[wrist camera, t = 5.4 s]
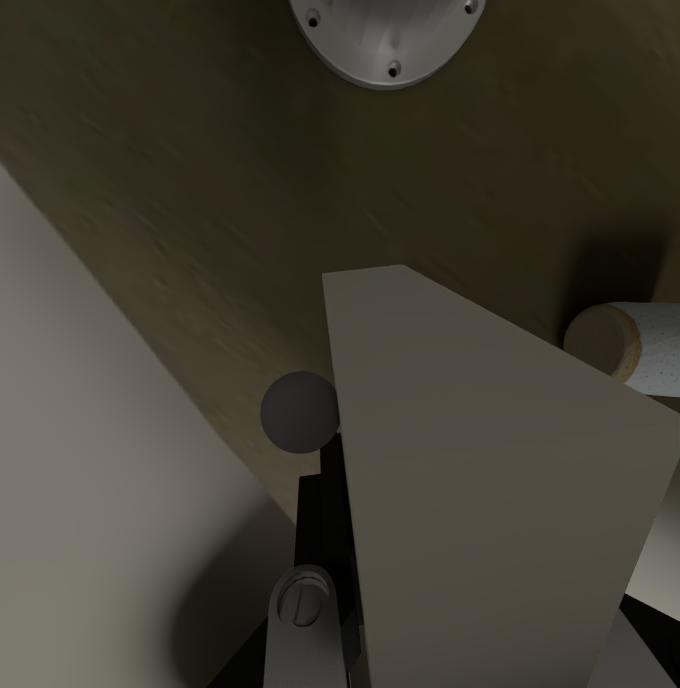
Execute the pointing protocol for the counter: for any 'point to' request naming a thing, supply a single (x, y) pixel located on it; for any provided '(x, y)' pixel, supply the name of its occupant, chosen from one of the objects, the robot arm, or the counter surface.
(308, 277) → the counter surface
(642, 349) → the ceramic mug
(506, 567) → the door panel
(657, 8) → the counter surface
